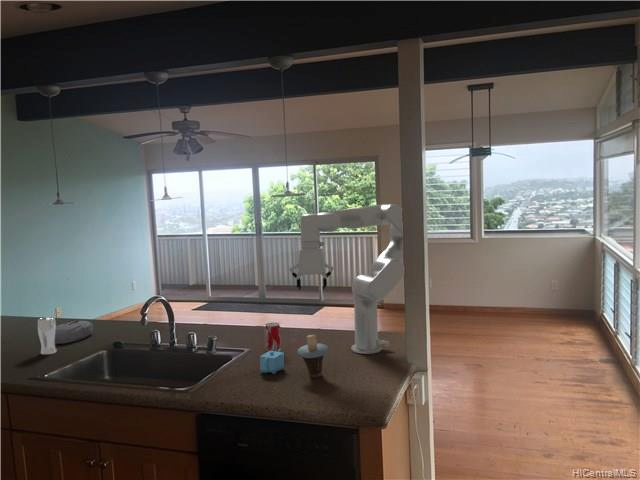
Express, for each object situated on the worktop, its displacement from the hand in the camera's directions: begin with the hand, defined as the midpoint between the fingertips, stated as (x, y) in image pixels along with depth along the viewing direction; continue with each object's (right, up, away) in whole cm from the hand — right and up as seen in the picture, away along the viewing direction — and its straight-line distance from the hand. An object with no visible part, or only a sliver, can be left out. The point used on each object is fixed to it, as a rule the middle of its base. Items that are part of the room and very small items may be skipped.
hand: (312, 288), depth 197 cm
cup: (+1, -30, -18) cm, 35 cm away
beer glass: (-114, -30, +20) cm, 120 cm away
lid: (+1, -21, -18) cm, 28 cm away
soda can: (-16, -28, +12) cm, 35 cm away
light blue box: (-14, -30, -10) cm, 34 cm away
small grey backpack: (-115, -28, +41) cm, 126 cm away
